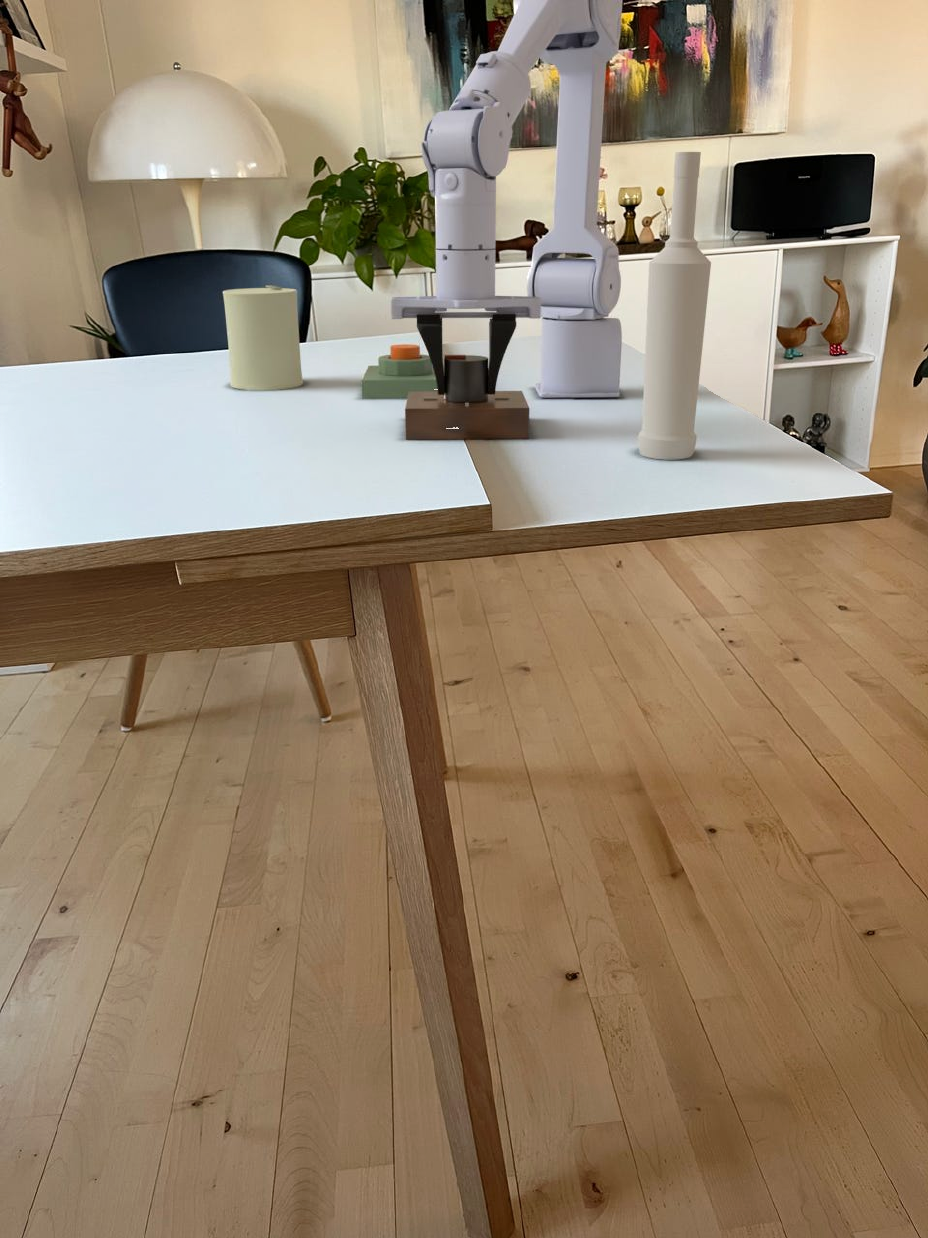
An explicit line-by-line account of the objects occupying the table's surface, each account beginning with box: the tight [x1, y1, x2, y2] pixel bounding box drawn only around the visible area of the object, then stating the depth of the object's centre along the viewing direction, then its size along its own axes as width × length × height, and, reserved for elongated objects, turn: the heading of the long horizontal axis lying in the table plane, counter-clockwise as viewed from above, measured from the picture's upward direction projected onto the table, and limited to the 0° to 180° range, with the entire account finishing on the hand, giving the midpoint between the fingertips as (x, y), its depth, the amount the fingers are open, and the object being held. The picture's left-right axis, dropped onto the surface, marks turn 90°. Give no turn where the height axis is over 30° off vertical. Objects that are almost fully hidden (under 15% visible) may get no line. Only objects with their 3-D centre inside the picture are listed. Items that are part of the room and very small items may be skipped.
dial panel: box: [404, 390, 530, 440], centre depth 102 cm, size 12×10×3 cm
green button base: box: [360, 353, 444, 400], centre depth 124 cm, size 10×12×4 cm
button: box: [389, 343, 421, 360], centre depth 123 cm, size 4×4×2 cm
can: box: [222, 285, 304, 391], centre depth 127 cm, size 9×9×12 cm
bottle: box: [637, 151, 712, 461], centre depth 87 cm, size 5×5×25 cm
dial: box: [443, 354, 489, 403], centre depth 101 cm, size 4×4×4 cm
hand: (465, 393), depth 101 cm, fingers closed on dial, 4 cm apart
